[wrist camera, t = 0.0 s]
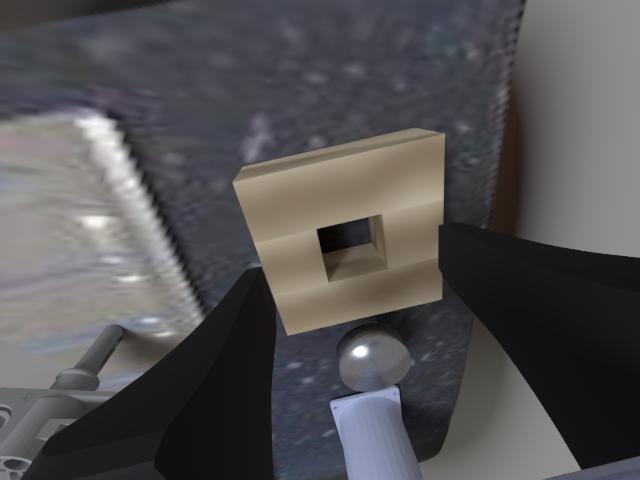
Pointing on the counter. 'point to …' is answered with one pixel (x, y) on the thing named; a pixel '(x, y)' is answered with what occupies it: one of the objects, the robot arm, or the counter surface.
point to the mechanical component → (51, 406)
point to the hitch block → (343, 206)
